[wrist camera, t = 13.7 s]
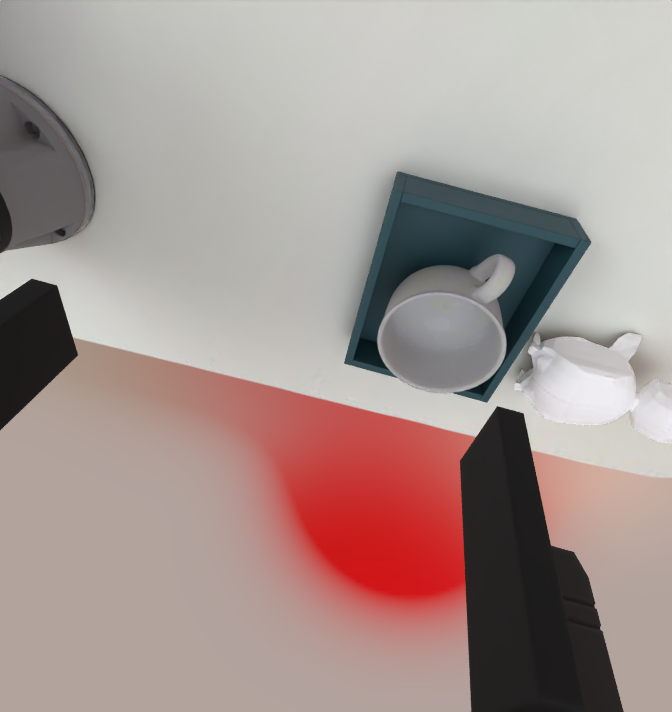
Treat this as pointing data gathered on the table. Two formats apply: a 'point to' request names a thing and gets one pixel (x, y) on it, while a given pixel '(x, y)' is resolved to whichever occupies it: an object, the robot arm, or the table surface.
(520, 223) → the tray
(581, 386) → the white figurine
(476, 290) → the teacup
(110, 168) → the table surface
